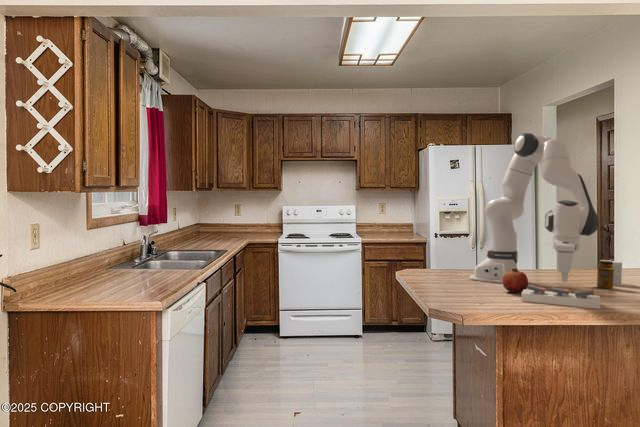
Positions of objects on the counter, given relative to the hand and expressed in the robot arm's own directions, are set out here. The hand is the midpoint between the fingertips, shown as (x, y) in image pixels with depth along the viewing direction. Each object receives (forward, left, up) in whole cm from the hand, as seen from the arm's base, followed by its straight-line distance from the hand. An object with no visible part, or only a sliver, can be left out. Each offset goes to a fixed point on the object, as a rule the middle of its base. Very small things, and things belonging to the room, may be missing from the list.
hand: (564, 281), depth 178 cm
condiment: (+15, +41, -9) cm, 44 cm away
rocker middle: (-1, 0, -4) cm, 4 cm away
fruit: (-18, +13, -9) cm, 24 cm away
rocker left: (-9, 0, -4) cm, 10 cm away
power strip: (-1, +1, -8) cm, 8 cm away
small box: (+18, +55, -9) cm, 58 cm away
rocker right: (+7, 0, -4) cm, 8 cm away
